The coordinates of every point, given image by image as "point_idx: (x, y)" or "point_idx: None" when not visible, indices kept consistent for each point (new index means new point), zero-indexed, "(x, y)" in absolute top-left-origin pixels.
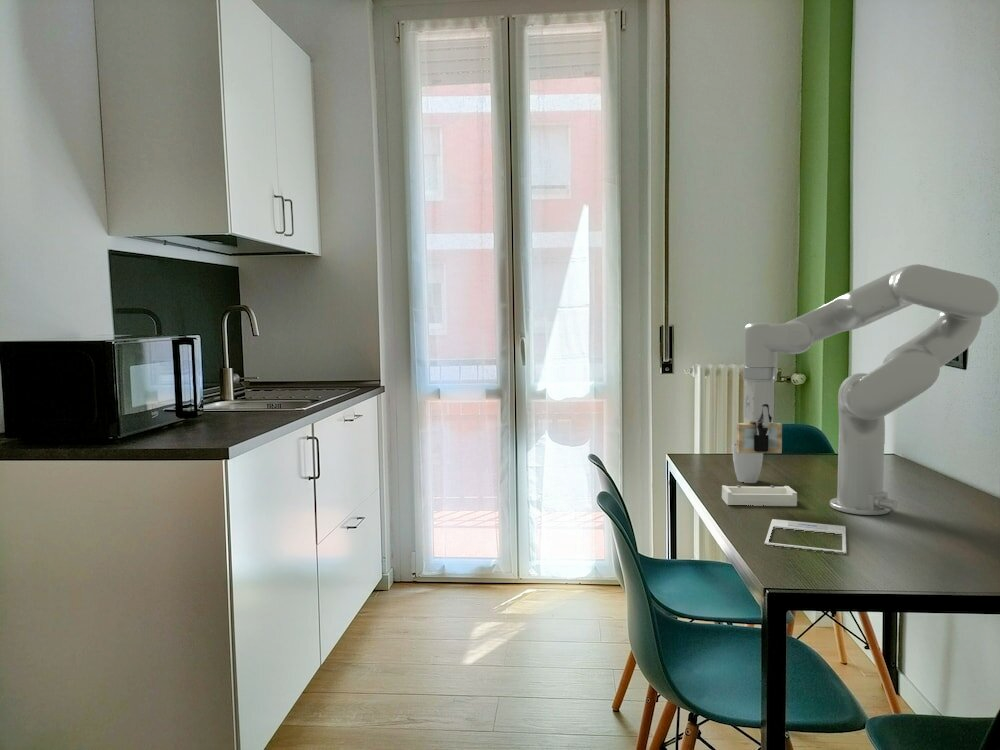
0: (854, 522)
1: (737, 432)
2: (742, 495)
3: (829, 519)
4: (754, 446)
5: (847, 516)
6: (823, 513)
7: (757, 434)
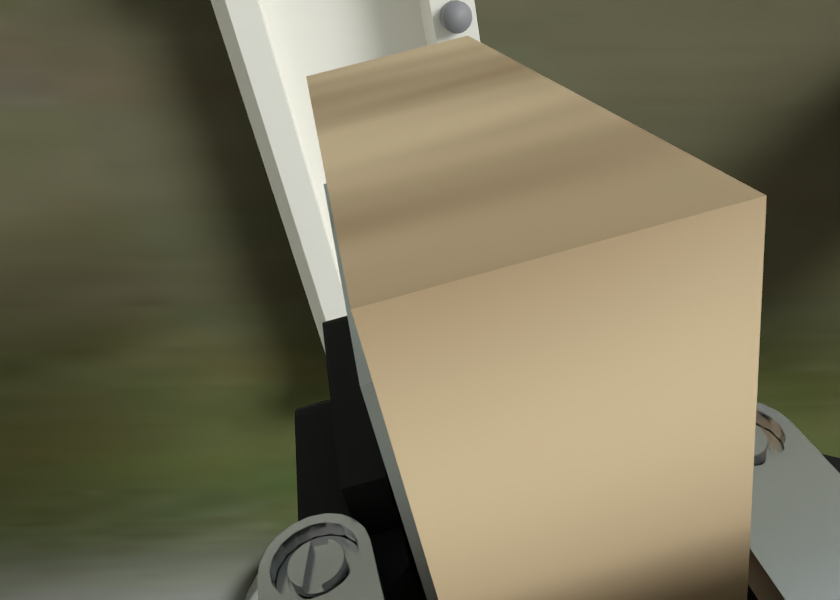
0: (98, 597)
1: (521, 132)
2: (239, 44)
3: (102, 512)
4: (333, 352)
5: (204, 571)
6: (220, 485)
7: (271, 560)
